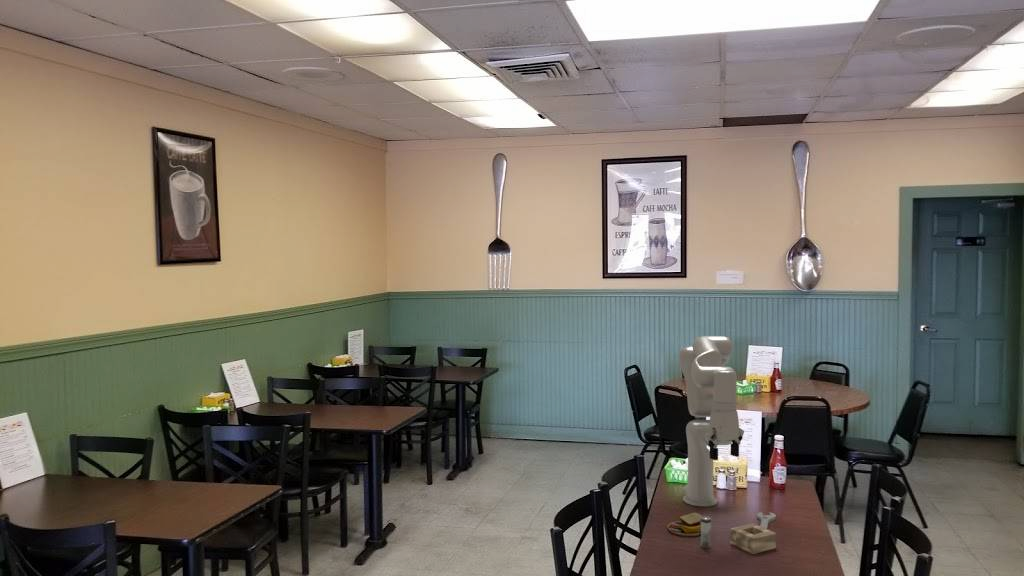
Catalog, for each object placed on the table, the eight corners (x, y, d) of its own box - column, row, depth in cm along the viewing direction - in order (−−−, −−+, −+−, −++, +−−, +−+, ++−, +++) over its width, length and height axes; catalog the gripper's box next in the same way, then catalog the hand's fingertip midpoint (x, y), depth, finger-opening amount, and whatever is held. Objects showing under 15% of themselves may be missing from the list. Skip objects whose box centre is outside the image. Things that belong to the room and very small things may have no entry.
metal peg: (697, 545, 249) (698, 517, 248) (705, 543, 250) (706, 515, 250) (705, 549, 246) (705, 520, 245) (713, 547, 247) (713, 518, 247)
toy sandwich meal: (661, 525, 267) (662, 512, 267) (697, 523, 270) (698, 510, 269) (676, 539, 255) (676, 525, 255) (713, 536, 257) (713, 522, 257)
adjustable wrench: (765, 542, 253) (765, 536, 253) (745, 538, 256) (745, 533, 256) (776, 517, 275) (776, 513, 275) (758, 515, 278) (758, 510, 278)
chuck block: (730, 543, 251) (730, 528, 250) (752, 537, 255) (752, 523, 255) (753, 554, 242) (753, 538, 242) (775, 548, 247) (775, 533, 246)
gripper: (734, 403, 262) (734, 452, 262) (697, 407, 253) (697, 458, 253) (751, 406, 255) (751, 457, 255) (714, 410, 246) (713, 463, 247)
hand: (724, 457), depth 254 cm, fingers open, 9 cm apart
